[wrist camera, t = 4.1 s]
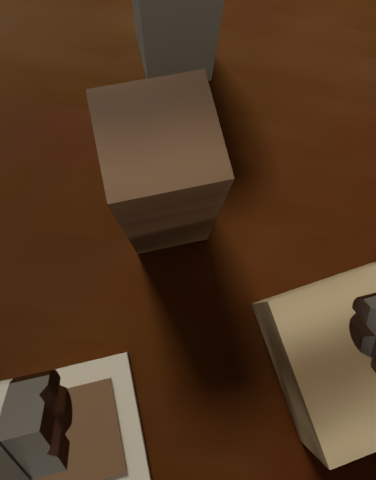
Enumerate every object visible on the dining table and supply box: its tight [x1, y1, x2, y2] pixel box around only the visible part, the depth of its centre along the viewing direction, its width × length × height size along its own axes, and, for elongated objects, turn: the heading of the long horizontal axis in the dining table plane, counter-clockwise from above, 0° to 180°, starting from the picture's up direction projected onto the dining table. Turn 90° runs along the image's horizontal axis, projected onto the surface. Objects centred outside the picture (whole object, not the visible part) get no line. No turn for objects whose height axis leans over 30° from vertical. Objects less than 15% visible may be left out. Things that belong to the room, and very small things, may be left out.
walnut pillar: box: [86, 69, 235, 254], centre depth 17 cm, size 4×4×10 cm
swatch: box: [35, 352, 151, 480], centre depth 19 cm, size 7×7×1 cm
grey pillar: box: [132, 0, 224, 81], centre depth 20 cm, size 4×4×9 cm
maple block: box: [252, 262, 376, 470], centre depth 19 cm, size 8×8×4 cm
